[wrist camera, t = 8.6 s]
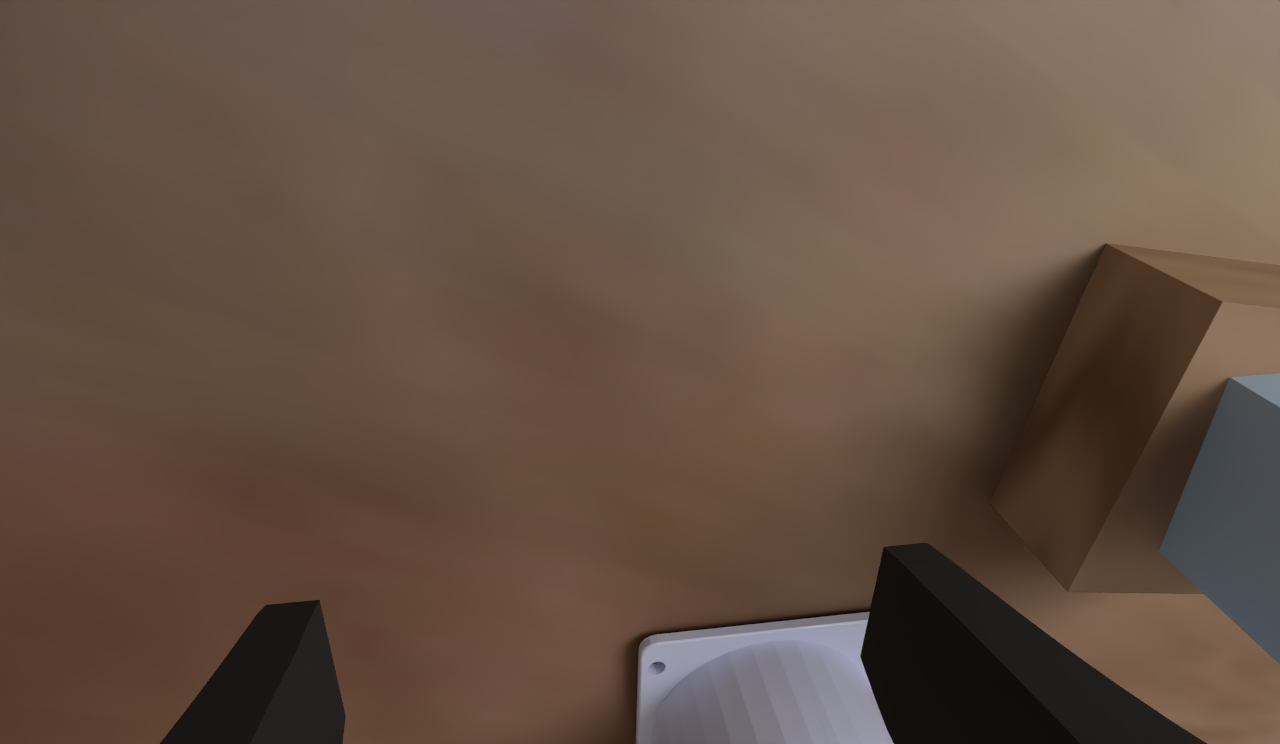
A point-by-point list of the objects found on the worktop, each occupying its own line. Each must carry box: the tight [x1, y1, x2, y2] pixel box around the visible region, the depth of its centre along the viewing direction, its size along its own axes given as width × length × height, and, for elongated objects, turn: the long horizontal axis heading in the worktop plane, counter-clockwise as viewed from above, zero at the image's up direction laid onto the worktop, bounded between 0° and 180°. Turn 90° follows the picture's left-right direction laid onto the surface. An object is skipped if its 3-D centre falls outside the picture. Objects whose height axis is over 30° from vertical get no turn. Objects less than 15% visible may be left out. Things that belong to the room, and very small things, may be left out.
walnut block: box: [990, 243, 1280, 594], centre depth 21 cm, size 8×8×4 cm
